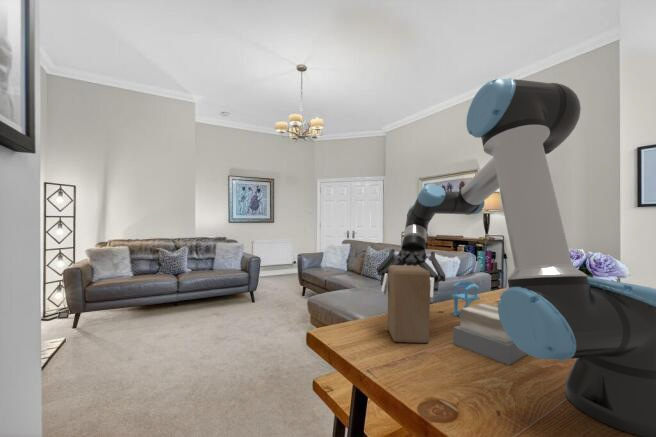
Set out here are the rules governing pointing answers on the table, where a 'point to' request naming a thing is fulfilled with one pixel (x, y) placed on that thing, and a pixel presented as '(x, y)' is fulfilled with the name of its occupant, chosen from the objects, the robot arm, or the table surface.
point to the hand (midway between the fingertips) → (406, 296)
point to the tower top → (484, 321)
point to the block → (408, 303)
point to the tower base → (487, 346)
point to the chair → (464, 295)
